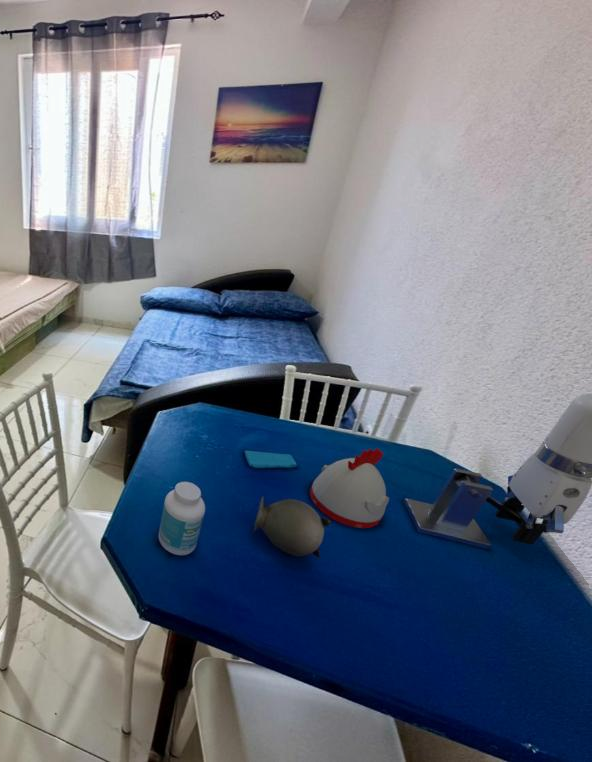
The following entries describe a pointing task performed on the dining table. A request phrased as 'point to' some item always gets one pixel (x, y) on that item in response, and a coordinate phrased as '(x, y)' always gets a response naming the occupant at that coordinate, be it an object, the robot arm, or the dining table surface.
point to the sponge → (269, 460)
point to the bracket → (453, 511)
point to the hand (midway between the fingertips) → (513, 528)
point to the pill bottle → (182, 519)
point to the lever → (497, 504)
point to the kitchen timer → (352, 490)
